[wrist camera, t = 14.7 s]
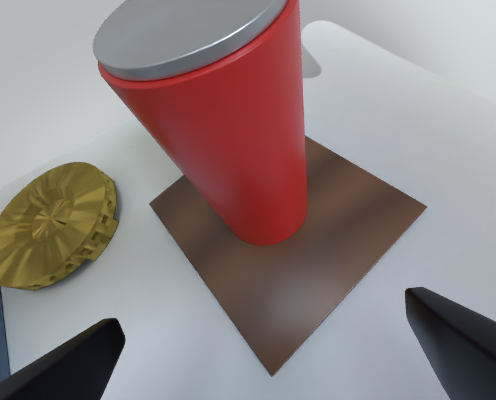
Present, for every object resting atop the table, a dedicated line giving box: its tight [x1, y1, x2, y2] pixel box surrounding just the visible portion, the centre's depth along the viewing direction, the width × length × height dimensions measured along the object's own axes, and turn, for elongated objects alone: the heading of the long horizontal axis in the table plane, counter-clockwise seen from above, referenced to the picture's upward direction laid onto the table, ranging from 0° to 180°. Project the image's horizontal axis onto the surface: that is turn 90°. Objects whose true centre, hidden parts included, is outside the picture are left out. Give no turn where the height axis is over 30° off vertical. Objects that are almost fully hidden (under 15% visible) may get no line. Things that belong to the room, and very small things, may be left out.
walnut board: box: [149, 136, 427, 376], centre depth 18 cm, size 16×14×1 cm
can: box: [93, 0, 308, 245], centre depth 12 cm, size 6×6×13 cm
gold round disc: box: [0, 162, 119, 291], centre depth 21 cm, size 12×12×2 cm
